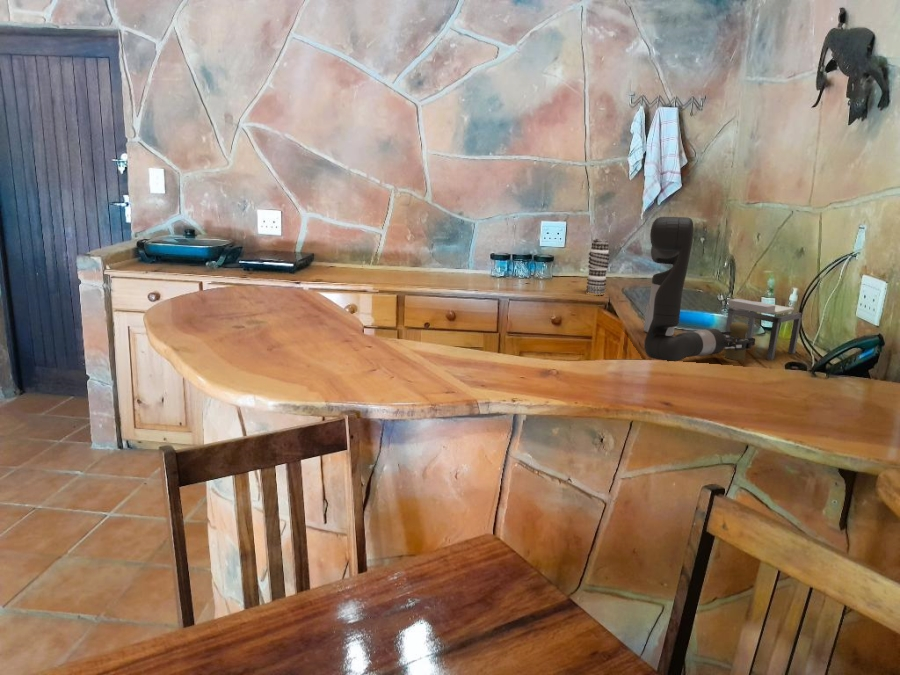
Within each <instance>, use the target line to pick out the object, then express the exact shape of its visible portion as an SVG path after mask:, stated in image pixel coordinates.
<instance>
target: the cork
mask: <svg viewBox="0 0 900 675" xmlns="http://www.w3.org/2000/svg"><path fill="white" fill-rule="evenodd" d="M748 329H749V327H748V323H745V322H742V321H734V322H733V323H731V325H730V331H731V334H730V336H738V337H739V338H744V339H745V338H746V334H747V332H748ZM735 342H736V339H734V341H733V343H735ZM734 349H735V348H728V349H724V350H725V351H724V354H723V357H724V356H725V357H726V358H725V357H724V358H725V359H727V358H729V359H728V360H731V359H733V360H732V361H745V360H746V350H737V351H736V350H734Z"/></svg>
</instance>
